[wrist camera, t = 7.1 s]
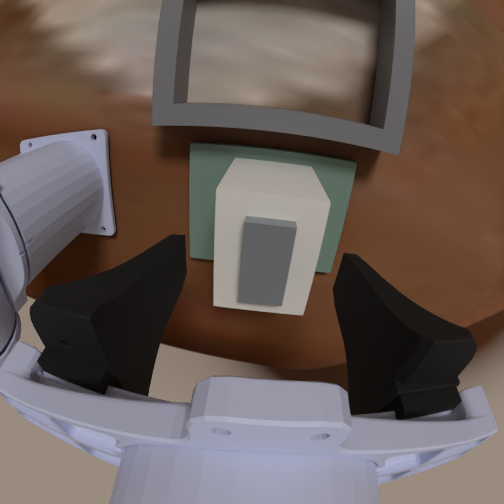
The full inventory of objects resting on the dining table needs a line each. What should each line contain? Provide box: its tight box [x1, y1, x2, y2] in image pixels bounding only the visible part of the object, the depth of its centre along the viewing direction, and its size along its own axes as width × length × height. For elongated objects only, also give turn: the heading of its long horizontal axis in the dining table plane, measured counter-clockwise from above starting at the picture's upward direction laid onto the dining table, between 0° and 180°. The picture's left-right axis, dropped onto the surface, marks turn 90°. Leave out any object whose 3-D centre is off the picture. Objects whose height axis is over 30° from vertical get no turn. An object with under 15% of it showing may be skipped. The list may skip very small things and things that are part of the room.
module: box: [214, 158, 331, 315], centre depth 14 cm, size 4×6×7 cm
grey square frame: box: [152, 0, 415, 155], centre depth 11 cm, size 13×11×2 cm
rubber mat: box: [189, 142, 357, 273], centre depth 18 cm, size 10×8×1 cm
